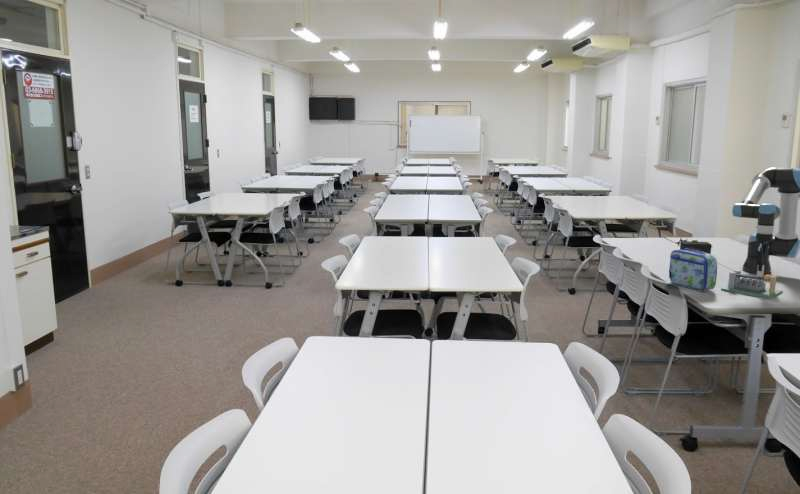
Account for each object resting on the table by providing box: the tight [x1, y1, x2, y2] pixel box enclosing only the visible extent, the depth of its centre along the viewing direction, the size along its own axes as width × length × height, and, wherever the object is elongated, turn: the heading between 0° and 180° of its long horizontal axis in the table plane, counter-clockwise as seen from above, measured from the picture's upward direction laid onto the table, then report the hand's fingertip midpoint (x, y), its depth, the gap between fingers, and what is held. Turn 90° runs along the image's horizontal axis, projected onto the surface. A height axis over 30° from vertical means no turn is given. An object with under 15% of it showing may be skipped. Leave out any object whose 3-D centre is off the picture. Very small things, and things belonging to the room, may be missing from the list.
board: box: [720, 269, 783, 300], centre depth 322 cm, size 19×24×10 cm
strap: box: [736, 273, 773, 281], centre depth 321 cm, size 4×16×2 cm, turn 42°
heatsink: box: [736, 277, 767, 293], centre depth 323 cm, size 10×11×6 cm
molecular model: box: [674, 236, 689, 247], centre depth 399 cm, size 25×12×16 cm, turn 158°
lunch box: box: [668, 248, 718, 291], centre depth 331 cm, size 26×11×21 cm, turn 21°
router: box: [679, 239, 713, 255], centre depth 362 cm, size 8×18×20 cm, turn 78°
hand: (759, 276), depth 319 cm, fingers closed
